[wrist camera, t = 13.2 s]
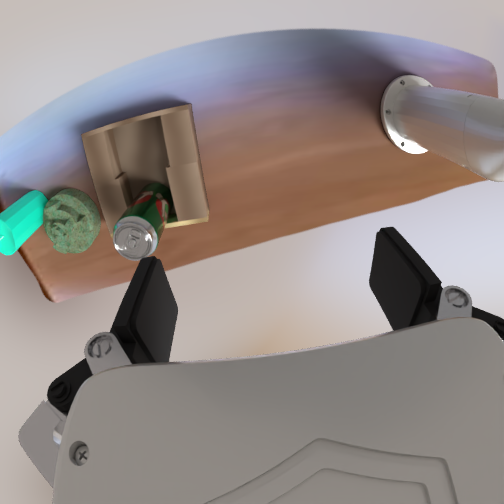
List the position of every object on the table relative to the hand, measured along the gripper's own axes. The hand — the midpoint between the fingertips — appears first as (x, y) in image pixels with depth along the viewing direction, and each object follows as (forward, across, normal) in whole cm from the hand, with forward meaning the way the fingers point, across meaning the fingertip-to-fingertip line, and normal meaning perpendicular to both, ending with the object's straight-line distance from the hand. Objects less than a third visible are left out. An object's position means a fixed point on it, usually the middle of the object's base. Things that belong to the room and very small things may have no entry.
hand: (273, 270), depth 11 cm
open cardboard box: (+26, +13, +1) cm, 30 cm away
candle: (+26, +35, +2) cm, 44 cm away
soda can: (+26, +13, +5) cm, 29 cm away
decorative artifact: (+26, +28, +5) cm, 39 cm away
